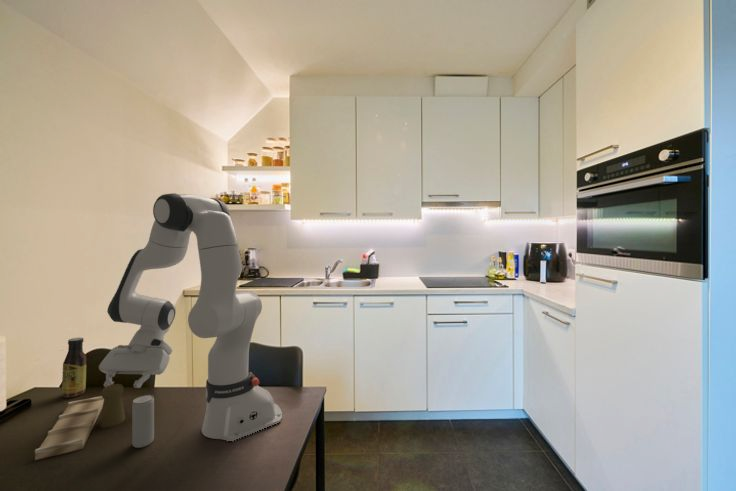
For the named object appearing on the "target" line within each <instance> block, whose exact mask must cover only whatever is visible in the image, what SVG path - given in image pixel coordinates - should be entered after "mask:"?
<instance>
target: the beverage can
mask: <svg viewBox="0 0 736 491" xmlns="http://www.w3.org/2000/svg"><path fill="white" fill-rule="evenodd" d="M131 409H132V410H131V411H132V412H131V413H132V414H131V415H132V417H131V418H132V420H131V421H132V422H131V430H132V431H131V432H132V434H131V439H132V440H131V442H132V443H131V444H132V447H134V448H136V449H140V448H145V447H147V446H148V445H150V444H152V442H153V441H154V439H155V398H154V395H151V394H145V395H142V396H138V397H136V398H134V399H133V401H132V404H131Z"/></svg>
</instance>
